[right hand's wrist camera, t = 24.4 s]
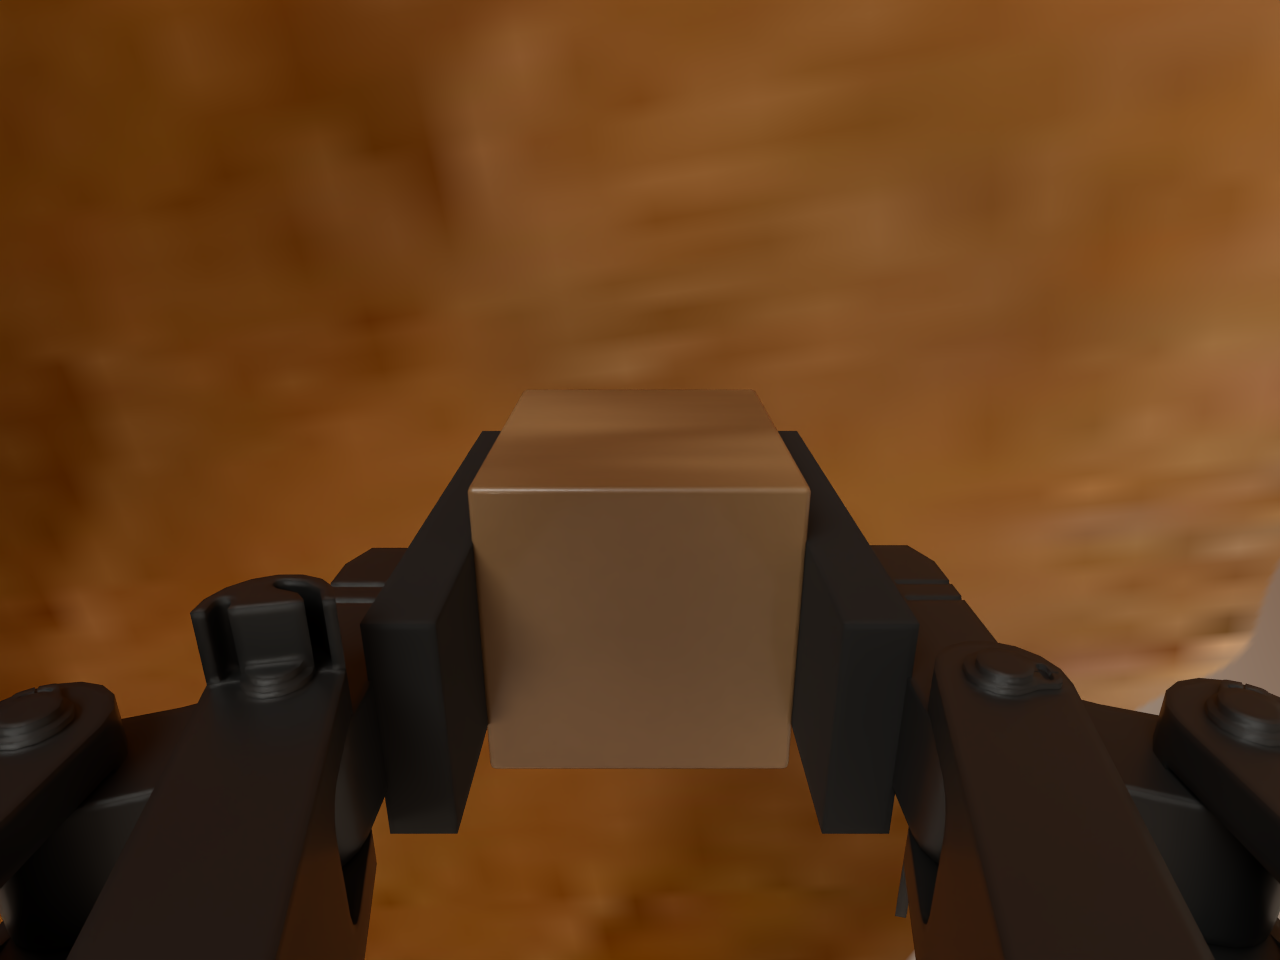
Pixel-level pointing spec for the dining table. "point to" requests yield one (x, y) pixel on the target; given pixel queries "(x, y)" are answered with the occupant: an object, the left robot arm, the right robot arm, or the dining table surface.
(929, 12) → the dining table surface
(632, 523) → the block
